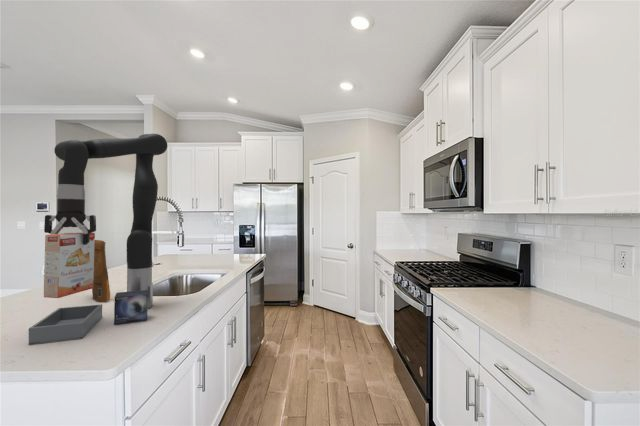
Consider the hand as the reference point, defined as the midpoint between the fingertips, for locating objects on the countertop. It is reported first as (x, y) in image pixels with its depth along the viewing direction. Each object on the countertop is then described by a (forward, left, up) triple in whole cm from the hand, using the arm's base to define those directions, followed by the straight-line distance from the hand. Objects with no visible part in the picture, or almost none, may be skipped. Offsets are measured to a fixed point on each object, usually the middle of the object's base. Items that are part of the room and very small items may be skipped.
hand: (70, 244), depth 107 cm
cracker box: (0, 0, -17) cm, 17 cm away
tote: (0, 0, -29) cm, 29 cm away
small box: (-18, -3, -30) cm, 35 cm away
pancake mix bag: (+2, -40, -30) cm, 50 cm away
